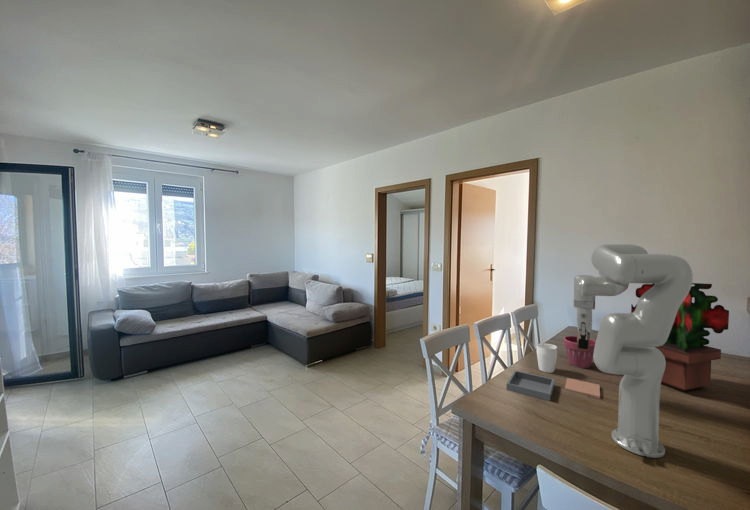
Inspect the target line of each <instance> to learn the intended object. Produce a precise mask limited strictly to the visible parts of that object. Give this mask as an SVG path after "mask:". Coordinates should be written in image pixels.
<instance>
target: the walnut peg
mask: <svg viewBox="0 0 750 510" xmlns="http://www.w3.org/2000/svg"><path fill="white" fill-rule="evenodd" d="M581 331H582V330H581ZM579 332H580V331H578V329H577V331H576V333H577V334H576V336H577V349H579V350H583V351H589V344H590V339H591V338H590V337H591V336H590V335H591V333H590V332H588V331H587V340H588V349H582V348H579V347H578V346H579ZM585 332H586V331H585Z"/></svg>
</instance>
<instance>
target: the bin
mask: <svg viewBox="0 0 750 510" xmlns="http://www.w3.org/2000/svg"><path fill="white" fill-rule="evenodd" d="M554 387H555V379H554V378H551V377H547V376H546V377H545V376H542V375H538V374H534V373H533V374H532V373H529V372H524V371H519V370H513V372H512V374H511V376H510V377H509V379H508V381H507V382H506V391H510V392H514V393H518V394H521V395H525V396H527V397H528V396H529V397H533V398H537V399H540V400H544V401H548V402H551V399H552V395H553V392H554Z"/></svg>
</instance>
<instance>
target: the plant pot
mask: <svg viewBox="0 0 750 510" xmlns="http://www.w3.org/2000/svg"><path fill="white" fill-rule="evenodd" d="M595 343H596V340H593V339H591V338H590V344H589V351H583V350H579V349H577V335H568V336H567V335H566V336H564V337H563V345H564V347H565V350H566V354H567V359H568V360H567V361H568V364H569V365H571V366H572V367H577V368H579V369H580V368H581V369H588V368H590V367H591V365H592V363H593V360H594V357H593V354H594V347H595Z"/></svg>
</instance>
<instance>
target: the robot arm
mask: <svg viewBox="0 0 750 510" xmlns="http://www.w3.org/2000/svg"><path fill="white" fill-rule="evenodd" d="M591 264H592V266H593V267H594V269H595V270H596V271H598V274H599V276H594V275H589V274H577V275H575V276H574V278H573V308H575V309H576V327H577V329H578V331H580V332H579V346H578V347H579V348H582V349H588V340H587V331H588V332H590V334H592V331H593V310H595V309H596V297H616V296H619V295H620V294H622V293H624V292H625V291H627V290H628V288H629V286H630V284H653V283H654V284H655V285H654V286H653V287H652V288H650V289H649V290H647V291H646V292H645V293H644V294H643V295H642V296H641V297H640V298H639V299H638V300H637V303H636V304H637V306H636V305H635V306H636V309H635V311H634V312H633V313H631V312H629V313H627V312H626V313H624V312H623V313H621V312H615V313H609V314H607V315H605V316H604V317H603V318H602V319H601V321H600V324H599V327H598V332H597V337H596V338H595V339H596V340H595V341H596V343H595V347H594V354H593V362H594V365H595V366H596V368H597V369H598V370H599V371H601V372H603V373H605V374H611V375H622V378H621V379H620V381H619V386H618V411H617V413H618V415H617V419H618V421H617V428H615V429H613V430H612V431H611V439H612V440H613V442H615V444H617V445H618V446H620V447H621V448H622V449H625V451H628V452H631V453H633V454H636V455H639V456H642V457H645V456H646V457H647V458H653V459H654V458H655V459H656V458H657V459H658V458H662V457H664V456H665V454H666V448H665V446H664V445H663V444H662V443H661V442H660V441H659V429H660V428H659V427H660V426H659V425H660V420H659V419H660V399H661V385H662V384H661V381H662V377H663V374H664V371H665V366H666V361H665V357H664V355H663V354H662V352H661V351H660V350H659V349H657V348H655V347H659V346H662V345H664V344H665V343H666V341H667V339H668V337H669V334H670V331H671V329H672V326H673V323H674V320H675V317H676V314H677V311H678V309H679V307H680V305H681V304H682V302H683V301H684V299H685V298H686V296H687V295H688V293H689V291H690V289H691V286H693V284H692V283H693V281H694V279H693V277H694V276H693V275H694V274H693V270H692V268H691V265H690V264H689V262H688V261H687V260H686V259H684V258H682V257H680V256H678V255H672V254H665V253H664V254H663V253H649V252H648V251H647V250H646V249H645V248H644V247H643V246H640V245H637V244H631V243H629V244H624V243H623V244H620V243H619V244H616V243H615V244H602V245H599V246H597V247H595V249H593V251H592V253H591ZM581 330H582V331H581ZM585 331H586V332H585Z"/></svg>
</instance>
